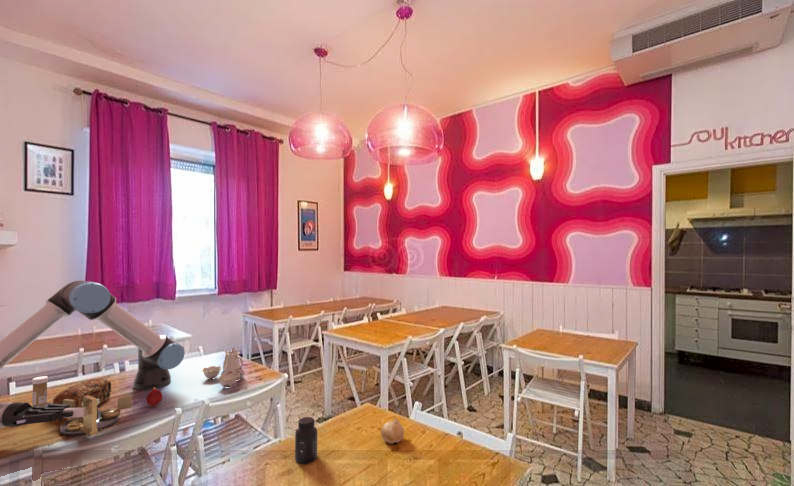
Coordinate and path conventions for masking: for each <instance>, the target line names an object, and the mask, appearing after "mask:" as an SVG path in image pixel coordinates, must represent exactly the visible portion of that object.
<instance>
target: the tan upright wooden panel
mask: <svg viewBox="0 0 794 486" xmlns="http://www.w3.org/2000/svg"><path fill="white" fill-rule="evenodd" d="M83 407H87V415H86V416H85V417H83V419H78V420H75V421H72V422H70V423H69V424H68V431H78V430H79V431H81V432H83V433H85V434H84V435H87V436H89V437H92V436H95V435H96V436H97V435H98V432H99V431H98V429H97V399H96V398H94V397H92V396H89V395H86V396H83Z"/></svg>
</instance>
